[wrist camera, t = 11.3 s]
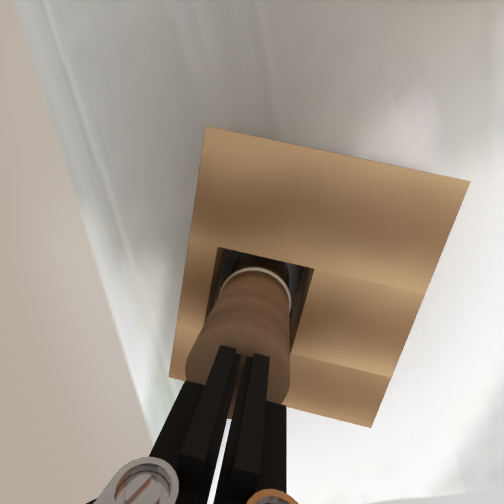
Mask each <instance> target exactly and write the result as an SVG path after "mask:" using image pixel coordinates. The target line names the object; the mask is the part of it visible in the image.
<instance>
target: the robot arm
mask: <svg viewBox="0 0 504 504" xmlns="http://www.w3.org/2000/svg"><path fill="white" fill-rule="evenodd" d="M240 359H241V354H237V353H236V348H232V347H228V346H224V345H220V347H219V349H218V352H217V355H216V357H215V360H214V363H213V365H212V368H211V371H210V373H209V376H208V379H207V381H206V384H205V385H203V384H199V383H195V382H191V381H188V380H186V381H185V382H184V384H183V386H182V388H181V390H180V392H179V394H178V396H177V399H176V401H175V403H174V405H173V407H172V409H171V411H170V413H169V415H168V417H167V419H166V422H165V424H164V426H163V428H162V430H161V432H160V434H159V436H158V438H157V440H156V443H155V445H154V447H153V449H152V451H151V453H150V455H149V457H142V458H139V459H136V460H133V461H131V462H129V463H128V464H126V465H124V466H123V467H122V468H121V469H120V470H119V471H118V472H117V473H116V474H115V475H114V476H113V478H112V479H111V481H110V482H109V483H108V485H107V486H106V487H105V489H104V490H103V491H102V493H101V494H100V495H99V497H98V498H97V499H94V500H92V501H90V502H89V503H86V504H207V501H208V497H209V493H210V488H211V484H212V480H213V476H214V471H215V467H216V463H217V459H218V455H219V450H220V446H221V442H222V438H223V434H224V429H225V425H226V421H227V416H228V412H229V407H230V403H231V399H232V394H233V390H234V385H235V381H236V377H237V372H238V368H239V363H240ZM269 363H270V357H269V356H265V355H261V354H257V353H254V354H253V357H250V356H246V360H245V365H244V369H243V373H242V378H241V382H240V386H239V391H238V395H237V399H236V404H235V408H234V412H233V416H232V421H231V425H230V430H229V434H228V439H227V443H226V448H225V453H224V457H223V462H222V466H221V471H220V475H219V480H218V485H217V489H216V494H215V498H214V503H213V504H298V503H297V502H296V501H295V500H294V499H293V498H292V497H291V496H289V495H288V494H286V405H282V404H279V403H275V402H271V401H267V400H266V398H267V386H268V375H269Z"/></svg>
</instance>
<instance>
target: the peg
mask: <svg viewBox="0 0 504 504" xmlns="http://www.w3.org/2000/svg"><path fill="white" fill-rule="evenodd" d="M290 309H291V296H290V292H289V273H288V268H287V266H286V264H285V262H283V261H278V260H274V259H270V258H265V257H261V256H257V255H252V254H248V253H245V254H244V255H242V256H241V257H240V258H239V260H238V261H237V263H236V265H235V267H234V268H233V270H232V272H231V274H230V276H229V277H228V278H227V279H226V280H225V282H224V284H223V285H222V287H221V290H220V293H219V297H218V299H217V301H216V303H215V305H214V307H213V309H212V311H211V312H210V314H209V316H208V318H207V320H206V322H205V324H204V326H203V328H202V330H201V332H200V333H199V335H198V337H197V339H196V341H195V343H194V345H193V347H192V349H191V351H190V353H189V355H188V357H187V360H186V365H185V376H186V380H188V381H191V382H195V383H199V384H203V385H205V384H206V381H207V379H208V376H209V373H210V371H211V368H212V365H213V363H214V360H215V357H216V355H217V352H218V349H219V347H220V345H224V346H228V347H232V348H236V353H237V354H241V359H240V363H239V368H238V372H237V377H236V381H235V385H234V390H233V394H232V399H231V403H230V407H229V412H228V416H227V418H228V419H232V416H233V412H234V408H235V404H236V399H237V395H238V391H239V386H240V382H241V378H242V373H243V369H244V365H245V360H246V356H250V357H253V354H254V353H257V354H261V355H265V356H269V357H270V363H269V375H268V386H267V398H266V400H267V401H271V402H275V403H279V404H281V403H282V402H283V401H284V399H285V398H286V396H287V393H288V391H289V386H290V329H289V313H290Z"/></svg>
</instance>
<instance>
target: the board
mask: <svg viewBox="0 0 504 504" xmlns="http://www.w3.org/2000/svg"><path fill="white" fill-rule="evenodd" d="M470 182H471V181H466V180H461V179H456V178H451V177H447V176H442V175H437V174H432V173H428V172H423V171H418V170H413V169H409V168H404V167H399V166H394V165H390V164H385V163H380V162H375V161H370V160H366V159H361V158H356V157H351V156H347V155H342V154H337V153H332V152H328V151H323V150H318V149H313V148H309V147H304V146H299V145H294V144H289V143H285V142H280V141H275V140H270V139H266V138H261V137H256V136H251V135H247V134H242V133H237V132H232V131H228V130H223V129H218V128H213V127H208V126H206V129H205V136H204V142H203V149H202V156H201V163H200V169H199V176H198V183H197V190H196V196H195V203H194V210H193V216H192V223H191V230H190V237H189V243H188V250H187V257H186V264H185V270H184V277H183V284H182V291H181V297H180V304H179V311H178V317H177V324H176V331H175V338H174V344H173V351H172V358H171V365H170V371H169V377H171V378H175V379H179V380H183V381H186V376H185V365H186V360H187V357H188V355H189V353H190V351H191V349H192V347H193V345H194V343H195V341H196V339H197V337H198V335H199V333H200V332H201V330H202V328H203V326H204V324H205V322H206V320H207V318H208V316H209V314H210V312H211V311H212V309H213V307H214V305H215V303H216V301H217V299H218V297H219V293H220V288H221V282H222V277H223V272H224V266H225V261H226V256H227V251H228V249H230V250H235V251H239V252H243V253H248V254H252V255H257V256H261V257H265V258H270V259H274V260H278V261H283V262H287V263H291V264H296V265H300V266H304V269H303V272H302V276H301V280H300V284H299V287H298V291H297V295H296V298H295V302H294V306H293V309H292V313H291V317H290V318H289V329H290V386H289V391H288V393H287V396H286V398H285V399H284V401H283V402H282V403H281V404H282V405H286V407H290V408H294V409H298V410H302V411H306V412H310V413H314V414H318V415H322V416H326V417H330V418H333V419H337V420H341V421H345V422H349V423H353V424H357V425H361V426H365V427H369V428H371V427H372V424H373V422H374V419H375V417H376V414H377V412H378V409H379V407H380V404H381V402H382V399H383V397H384V394H385V392H386V389H387V387H388V385H389V382H390V380H391V377H392V375H393V372H394V370H395V367H396V365H397V362H398V360H399V357H400V355H401V352H402V350H403V347H404V345H405V342H406V340H407V338H408V335H409V333H410V330H411V328H412V325H413V323H414V320H415V318H416V315H417V313H418V310H419V308H420V305H421V303H422V300H423V298H424V295H425V293H426V290H427V288H428V286H429V283H430V281H431V278H432V276H433V273H434V271H435V268H436V266H437V263H438V261H439V258H440V256H441V253H442V251H443V248H444V246H445V243H446V241H447V238H448V236H449V234H450V231H451V229H452V226H453V224H454V221H455V219H456V216H457V214H458V211H459V209H460V206H461V204H462V201H463V199H464V196H465V194H466V191H467V189H468V187H469V184H470Z"/></svg>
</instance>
